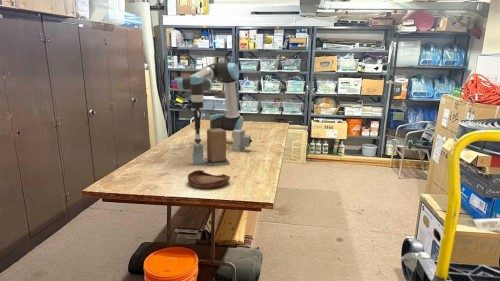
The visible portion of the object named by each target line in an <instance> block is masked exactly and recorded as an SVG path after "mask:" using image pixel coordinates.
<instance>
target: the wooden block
mask: <svg viewBox="0 0 500 281" xmlns="http://www.w3.org/2000/svg"><path fill="white" fill-rule="evenodd" d="M226 139H227V131H225V130H223V129H221V128H218V129H210V128H209V129H206V153H207V154H206V155H207V156H206V158H208V159H209V160H210V161H211V162H220V161H226V159H227V143H226Z"/></svg>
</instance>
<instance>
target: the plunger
mask: <svg viewBox="0 0 500 281" xmlns="http://www.w3.org/2000/svg"><path fill="white" fill-rule="evenodd" d="M194 142H195V144H196V146H200V144H201V142H202V138H200V139H195V138H194Z"/></svg>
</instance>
